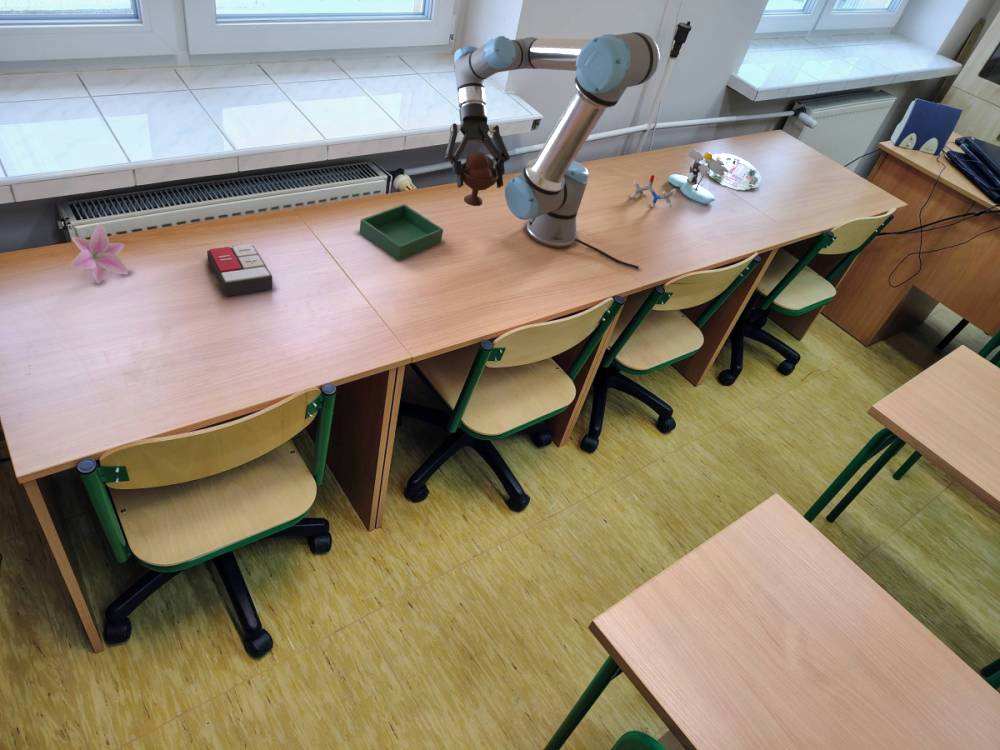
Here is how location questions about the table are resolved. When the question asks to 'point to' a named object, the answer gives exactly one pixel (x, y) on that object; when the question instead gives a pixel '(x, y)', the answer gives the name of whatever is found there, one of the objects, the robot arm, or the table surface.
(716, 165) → the figurine on stand
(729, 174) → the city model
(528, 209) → the robot arm
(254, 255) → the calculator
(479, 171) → the ice cream bowl
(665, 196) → the molecular model
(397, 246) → the bin
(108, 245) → the lily
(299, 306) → the table surface
